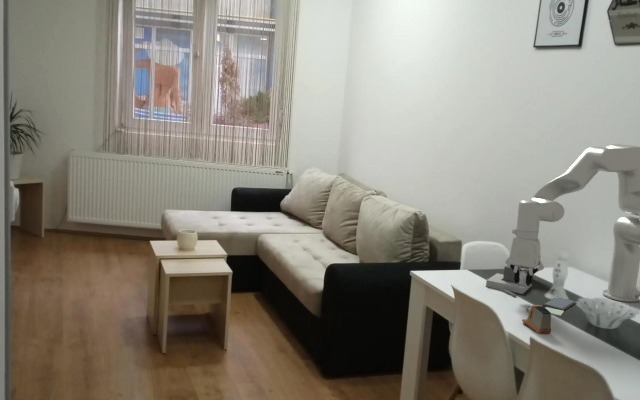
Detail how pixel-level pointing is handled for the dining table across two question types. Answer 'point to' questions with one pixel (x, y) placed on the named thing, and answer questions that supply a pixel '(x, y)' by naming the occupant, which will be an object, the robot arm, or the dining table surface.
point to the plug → (523, 277)
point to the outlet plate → (505, 284)
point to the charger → (508, 274)
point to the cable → (509, 293)
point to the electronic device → (538, 319)
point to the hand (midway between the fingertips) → (522, 283)
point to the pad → (555, 311)
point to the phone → (559, 303)
